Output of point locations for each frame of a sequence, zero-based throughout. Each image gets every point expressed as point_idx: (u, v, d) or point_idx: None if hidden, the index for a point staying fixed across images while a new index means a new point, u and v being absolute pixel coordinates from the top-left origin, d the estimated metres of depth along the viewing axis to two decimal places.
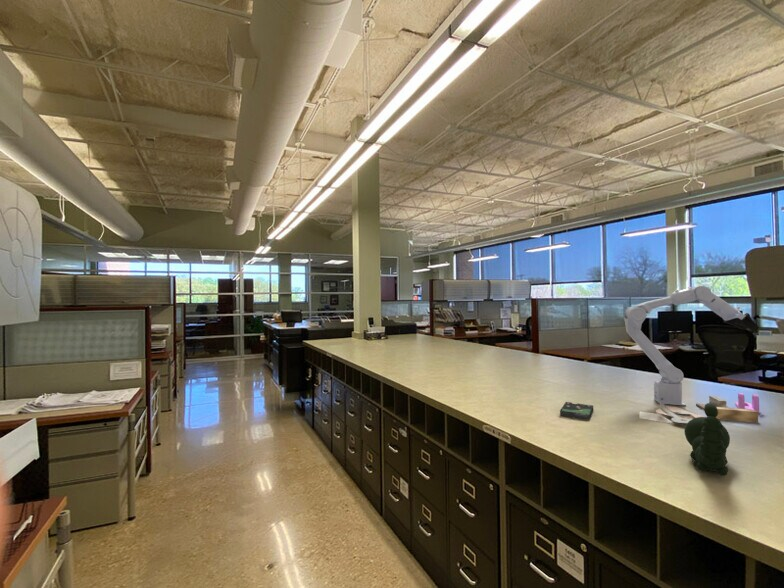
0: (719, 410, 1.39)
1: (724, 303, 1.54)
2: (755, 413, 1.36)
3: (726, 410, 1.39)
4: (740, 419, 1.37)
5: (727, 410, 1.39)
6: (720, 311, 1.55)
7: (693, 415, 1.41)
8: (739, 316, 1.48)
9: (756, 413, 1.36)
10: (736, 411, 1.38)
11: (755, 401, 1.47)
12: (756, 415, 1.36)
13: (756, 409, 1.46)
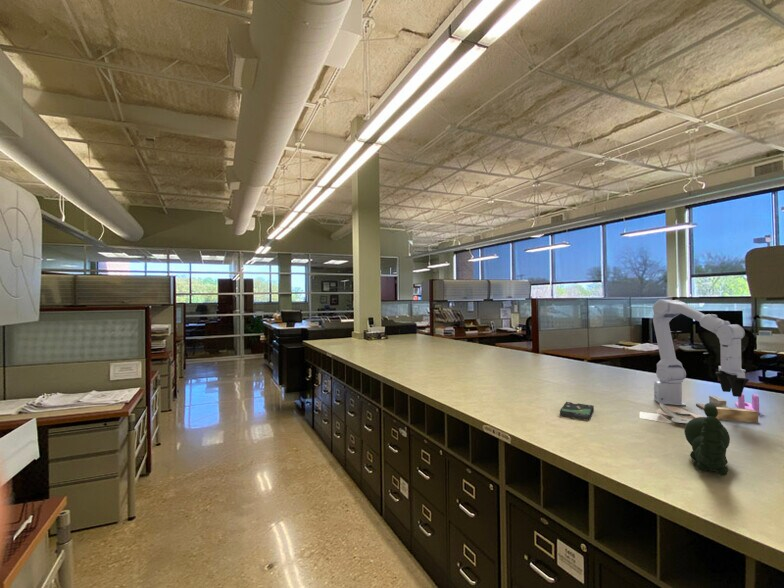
0: (719, 410, 1.39)
1: (730, 356, 1.38)
2: (755, 413, 1.36)
3: (726, 410, 1.39)
4: (740, 419, 1.37)
5: (727, 410, 1.39)
6: (727, 359, 1.38)
7: (693, 415, 1.41)
8: (739, 373, 1.33)
9: (756, 413, 1.36)
10: (736, 411, 1.38)
11: (755, 401, 1.47)
12: (756, 415, 1.36)
13: (756, 409, 1.46)
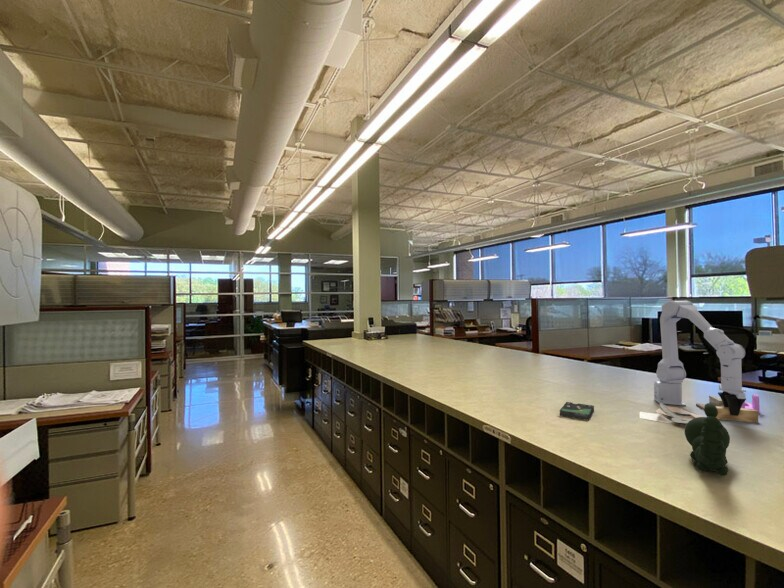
0: (719, 409, 1.39)
1: (731, 376, 1.37)
2: (755, 412, 1.36)
3: (726, 409, 1.39)
4: (740, 418, 1.37)
5: (727, 409, 1.39)
6: (728, 379, 1.38)
7: (693, 415, 1.41)
8: (740, 394, 1.33)
9: (756, 412, 1.36)
10: None
11: (755, 401, 1.47)
12: (756, 414, 1.36)
13: (756, 409, 1.46)
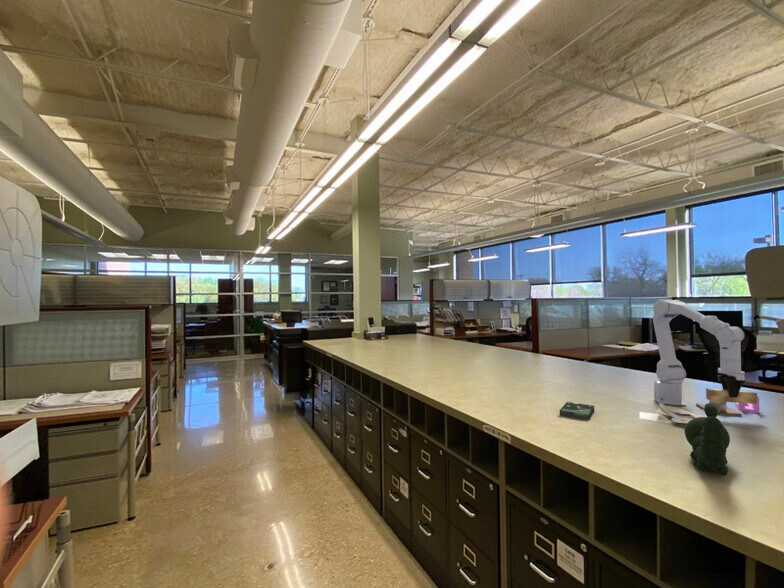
0: (718, 392, 1.40)
1: (730, 358, 1.38)
2: (754, 394, 1.36)
3: (725, 391, 1.39)
4: (739, 400, 1.38)
5: (726, 391, 1.39)
6: (727, 361, 1.39)
7: (693, 415, 1.41)
8: (739, 376, 1.33)
9: (755, 394, 1.36)
10: None
11: None
12: (755, 396, 1.36)
13: (756, 409, 1.46)
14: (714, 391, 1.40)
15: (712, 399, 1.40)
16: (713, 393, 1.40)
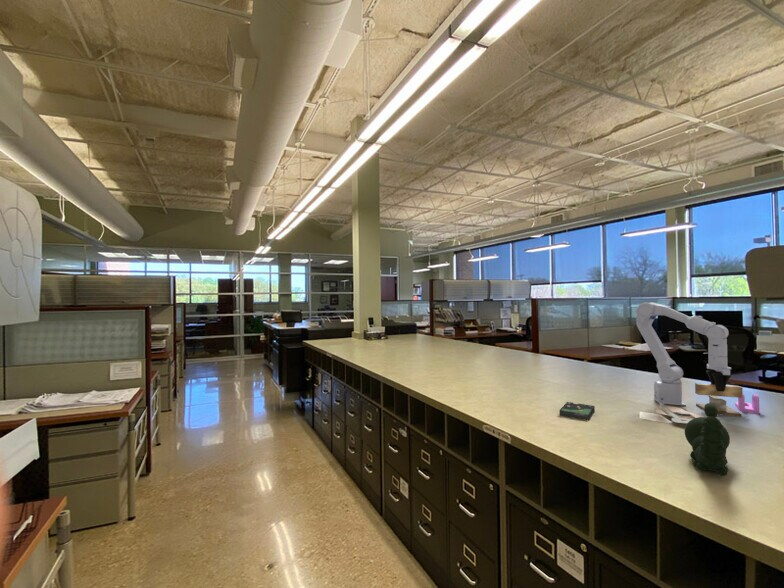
0: (706, 386, 1.49)
1: (721, 355, 1.47)
2: (739, 388, 1.45)
3: (713, 386, 1.48)
4: (726, 394, 1.47)
5: (714, 386, 1.48)
6: (714, 358, 1.48)
7: (693, 415, 1.41)
8: (725, 371, 1.42)
9: (740, 388, 1.45)
10: None
11: (755, 401, 1.47)
12: (740, 390, 1.45)
13: (756, 409, 1.46)
14: (702, 386, 1.49)
15: (700, 393, 1.50)
16: (702, 387, 1.50)
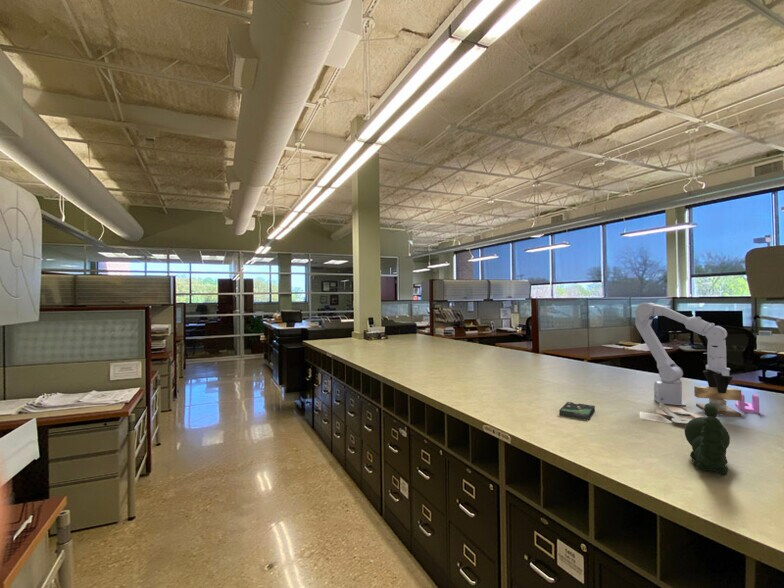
0: (705, 389, 1.50)
1: (720, 356, 1.47)
2: (738, 391, 1.46)
3: (712, 389, 1.49)
4: (725, 397, 1.48)
5: (713, 389, 1.49)
6: (713, 358, 1.49)
7: (693, 415, 1.41)
8: (724, 372, 1.43)
9: (739, 391, 1.46)
10: None
11: (755, 401, 1.47)
12: (739, 393, 1.46)
13: (756, 409, 1.46)
14: (702, 389, 1.50)
15: (700, 396, 1.50)
16: (701, 390, 1.50)
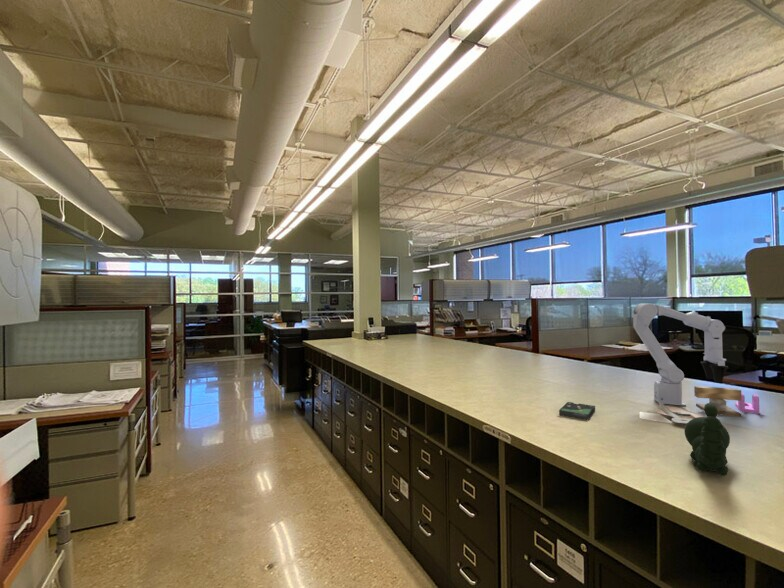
0: (705, 389, 1.50)
1: (720, 347, 1.55)
2: (738, 391, 1.46)
3: (712, 389, 1.49)
4: (725, 397, 1.48)
5: (713, 389, 1.49)
6: (710, 350, 1.56)
7: (693, 415, 1.41)
8: (720, 362, 1.51)
9: (739, 391, 1.46)
10: (721, 390, 1.48)
11: (755, 401, 1.46)
12: (739, 393, 1.46)
13: (756, 409, 1.46)
14: (702, 389, 1.50)
15: (700, 396, 1.50)
16: (701, 390, 1.50)
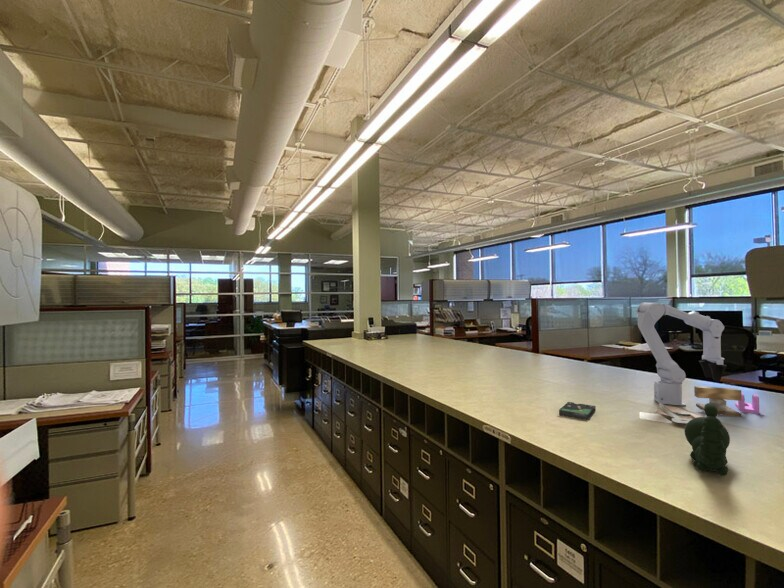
0: (705, 389, 1.50)
1: (720, 346, 1.58)
2: (738, 391, 1.46)
3: (712, 389, 1.49)
4: (725, 397, 1.48)
5: (713, 389, 1.49)
6: (709, 349, 1.59)
7: (693, 415, 1.41)
8: (718, 361, 1.54)
9: (739, 391, 1.46)
10: (721, 390, 1.48)
11: (755, 401, 1.46)
12: (739, 393, 1.46)
13: (756, 409, 1.46)
14: (702, 389, 1.50)
15: (700, 396, 1.50)
16: (701, 390, 1.50)
